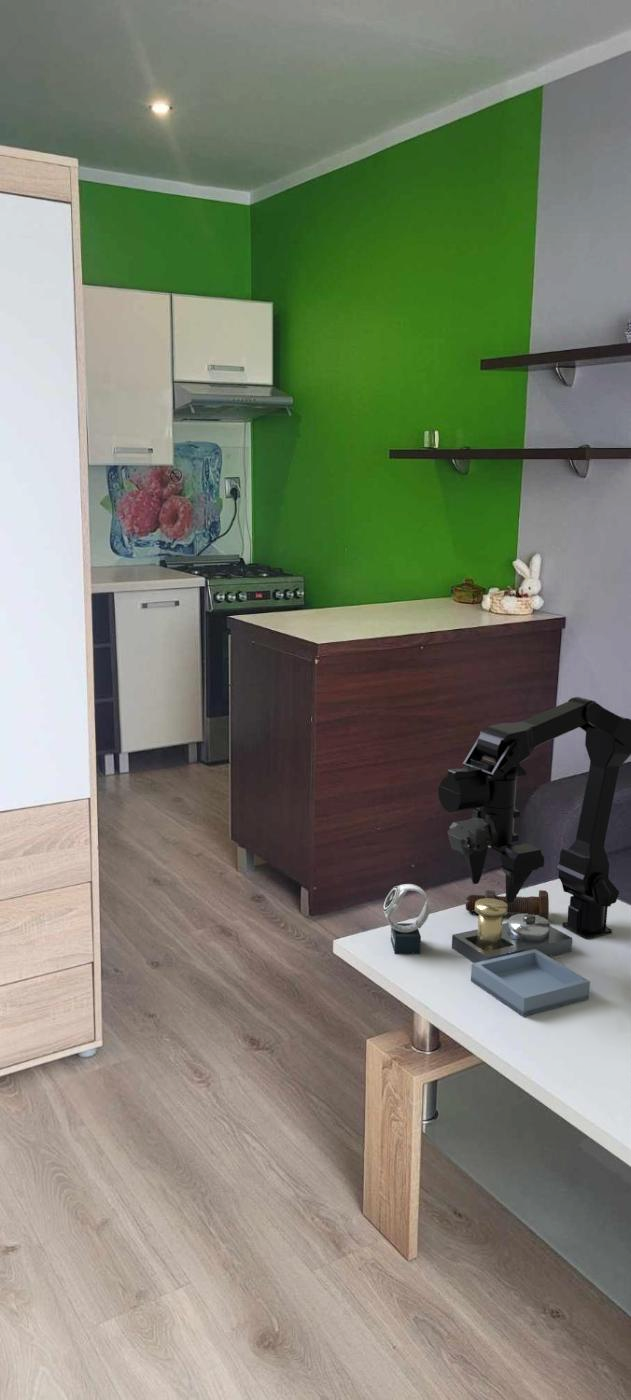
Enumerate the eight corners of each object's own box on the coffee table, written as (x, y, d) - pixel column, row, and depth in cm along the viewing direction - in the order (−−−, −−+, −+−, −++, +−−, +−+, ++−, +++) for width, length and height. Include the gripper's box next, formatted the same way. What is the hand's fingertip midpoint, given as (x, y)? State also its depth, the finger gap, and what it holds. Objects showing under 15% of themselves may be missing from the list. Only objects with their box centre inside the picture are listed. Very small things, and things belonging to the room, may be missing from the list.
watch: (379, 940, 185) (381, 880, 183) (425, 940, 186) (428, 880, 184) (383, 953, 180) (385, 892, 178) (430, 953, 180) (433, 892, 178)
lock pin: (491, 946, 184) (494, 896, 182) (510, 958, 179) (514, 907, 177) (465, 952, 181) (468, 901, 179) (485, 964, 177) (488, 912, 175)
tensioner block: (533, 930, 191) (535, 901, 190) (571, 951, 183) (573, 921, 181) (451, 948, 183) (453, 918, 182) (487, 971, 174) (489, 940, 173)
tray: (533, 965, 177) (535, 948, 176) (588, 999, 166) (590, 981, 165) (470, 981, 171) (471, 963, 170) (523, 1016, 159) (524, 998, 159)
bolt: (465, 920, 200) (546, 924, 198) (465, 916, 195) (548, 920, 193) (465, 889, 202) (546, 892, 199) (466, 884, 197) (548, 888, 195)
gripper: (424, 794, 179) (420, 881, 182) (493, 826, 163) (488, 921, 166) (477, 786, 184) (473, 871, 188) (549, 816, 168) (543, 909, 171)
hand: (492, 892), depth 178 cm, fingers open, 9 cm apart
